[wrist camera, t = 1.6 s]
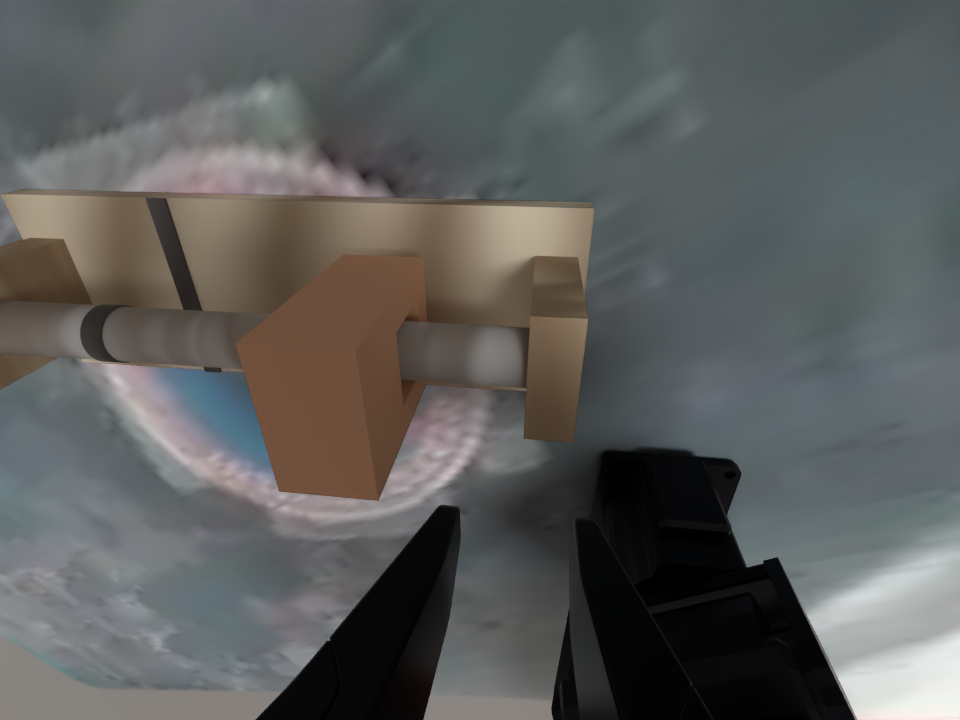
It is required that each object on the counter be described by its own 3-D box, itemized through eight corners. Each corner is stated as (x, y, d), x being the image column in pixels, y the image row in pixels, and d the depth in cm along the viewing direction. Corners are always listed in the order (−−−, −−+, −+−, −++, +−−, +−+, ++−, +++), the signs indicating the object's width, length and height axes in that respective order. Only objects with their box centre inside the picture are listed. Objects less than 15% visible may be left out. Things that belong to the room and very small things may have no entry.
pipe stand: (592, 202, 18) (611, 256, 12) (572, 382, 22) (580, 484, 16) (23, 189, 20) (-173, 228, 15) (98, 352, 24) (-35, 431, 19)
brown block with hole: (422, 257, 17) (355, 351, 11) (430, 373, 20) (378, 500, 14) (343, 254, 18) (235, 343, 12) (360, 368, 20) (279, 491, 14)
